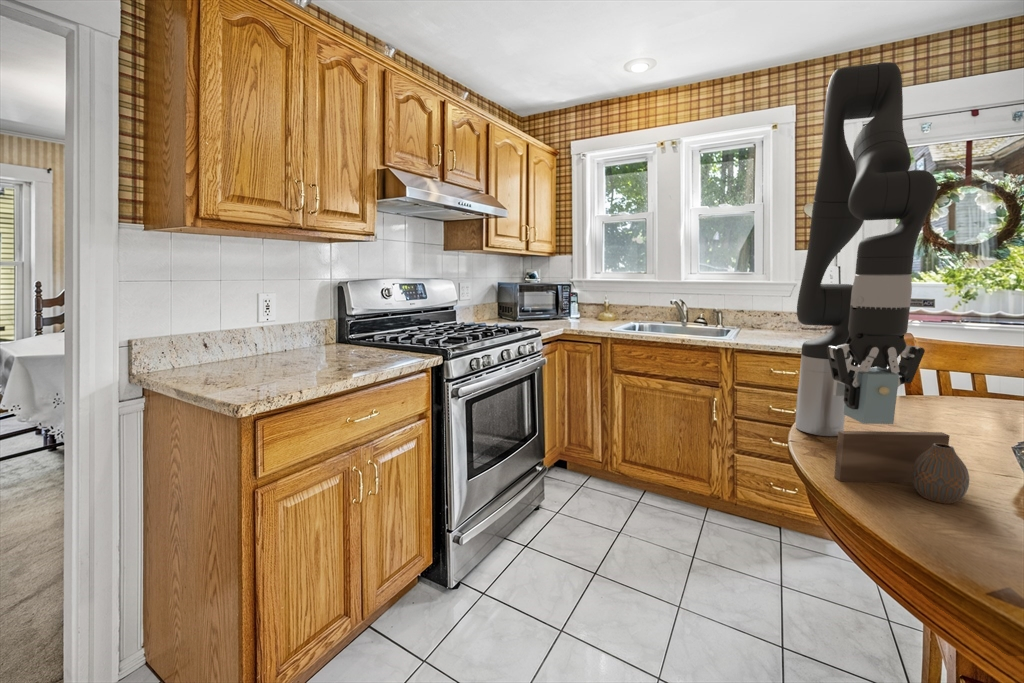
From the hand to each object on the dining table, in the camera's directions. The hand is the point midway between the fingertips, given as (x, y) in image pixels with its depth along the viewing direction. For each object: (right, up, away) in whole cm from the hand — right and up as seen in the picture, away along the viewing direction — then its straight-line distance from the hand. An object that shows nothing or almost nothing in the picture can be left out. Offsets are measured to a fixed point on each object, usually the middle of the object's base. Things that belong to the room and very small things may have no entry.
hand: (868, 407), depth 79 cm
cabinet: (0, -2, +2) cm, 2 cm away
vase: (+10, -14, -2) cm, 18 cm away
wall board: (+7, -13, +5) cm, 16 cm away
